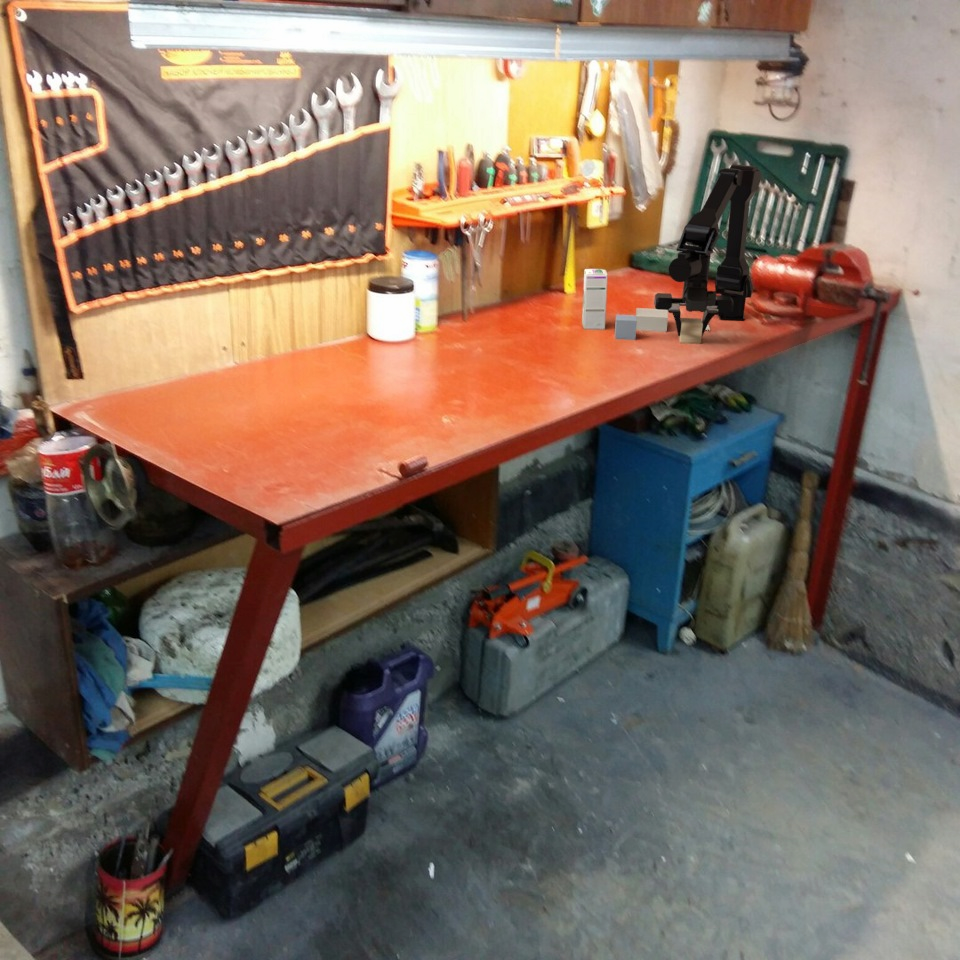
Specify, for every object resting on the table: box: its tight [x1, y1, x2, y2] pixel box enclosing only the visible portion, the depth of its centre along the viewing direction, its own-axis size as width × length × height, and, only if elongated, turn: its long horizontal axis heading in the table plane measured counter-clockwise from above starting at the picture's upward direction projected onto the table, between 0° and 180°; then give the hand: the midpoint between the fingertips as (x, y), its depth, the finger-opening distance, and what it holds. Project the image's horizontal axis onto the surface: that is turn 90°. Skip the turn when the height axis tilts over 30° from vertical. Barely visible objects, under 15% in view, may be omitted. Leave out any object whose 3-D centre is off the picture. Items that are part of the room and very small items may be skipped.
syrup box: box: [581, 268, 609, 330], centre depth 253 cm, size 6×6×14 cm
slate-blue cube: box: [614, 314, 637, 341], centre depth 247 cm, size 5×5×5 cm
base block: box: [635, 307, 669, 333], centre depth 256 cm, size 8×8×4 cm
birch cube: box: [678, 317, 703, 345], centre depth 245 cm, size 5×5×5 cm
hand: (689, 336), depth 245 cm, fingers closed on birch cube, 5 cm apart
